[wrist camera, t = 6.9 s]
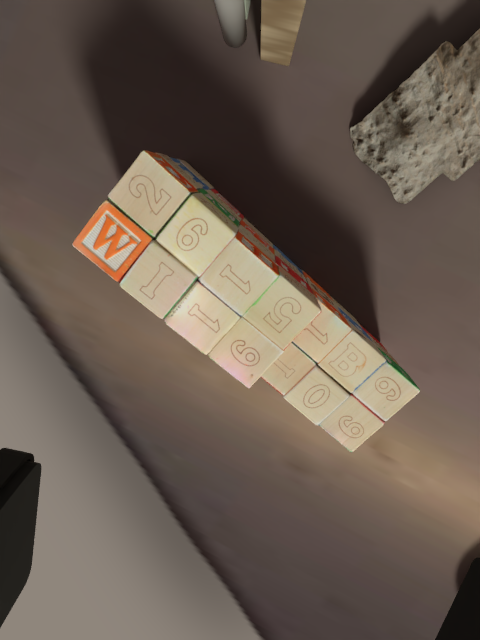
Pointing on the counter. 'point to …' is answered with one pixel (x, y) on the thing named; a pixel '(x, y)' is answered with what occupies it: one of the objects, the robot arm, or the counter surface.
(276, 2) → the door frame
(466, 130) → the stone fragment
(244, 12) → the door
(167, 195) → the stack of blocks
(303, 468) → the counter surface
